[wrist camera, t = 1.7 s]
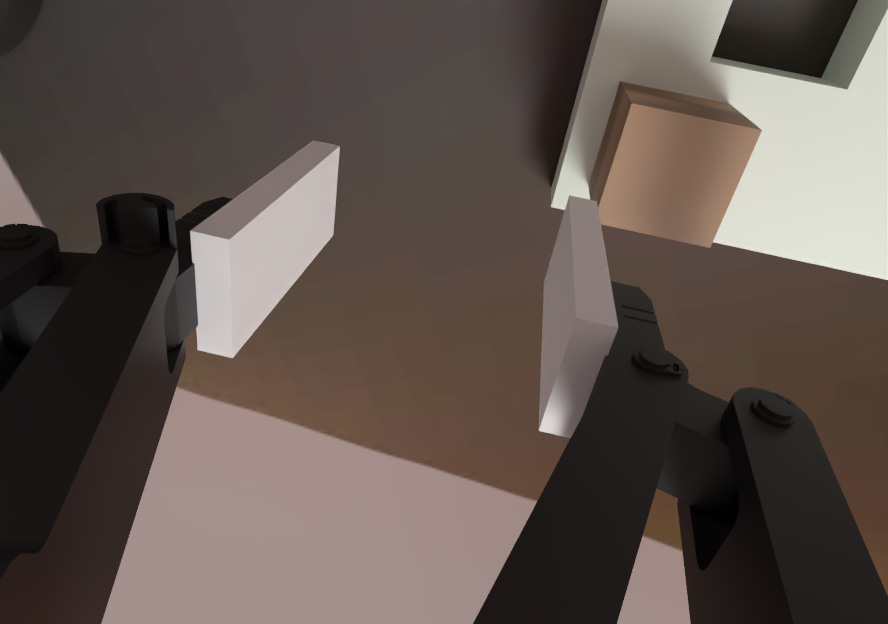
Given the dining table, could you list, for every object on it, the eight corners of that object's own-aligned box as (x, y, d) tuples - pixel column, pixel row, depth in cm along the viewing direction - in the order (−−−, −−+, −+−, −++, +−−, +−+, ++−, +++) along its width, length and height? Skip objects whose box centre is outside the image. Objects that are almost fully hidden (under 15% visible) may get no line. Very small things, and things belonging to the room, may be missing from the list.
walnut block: (588, 185, 30) (593, 222, 26) (619, 81, 27) (631, 103, 23) (687, 206, 30) (709, 247, 25) (729, 103, 27) (762, 130, 23)
